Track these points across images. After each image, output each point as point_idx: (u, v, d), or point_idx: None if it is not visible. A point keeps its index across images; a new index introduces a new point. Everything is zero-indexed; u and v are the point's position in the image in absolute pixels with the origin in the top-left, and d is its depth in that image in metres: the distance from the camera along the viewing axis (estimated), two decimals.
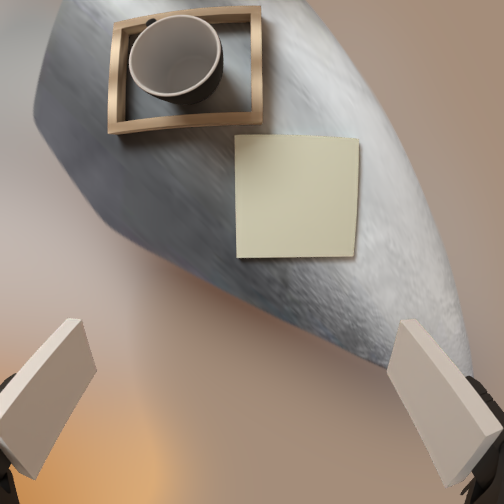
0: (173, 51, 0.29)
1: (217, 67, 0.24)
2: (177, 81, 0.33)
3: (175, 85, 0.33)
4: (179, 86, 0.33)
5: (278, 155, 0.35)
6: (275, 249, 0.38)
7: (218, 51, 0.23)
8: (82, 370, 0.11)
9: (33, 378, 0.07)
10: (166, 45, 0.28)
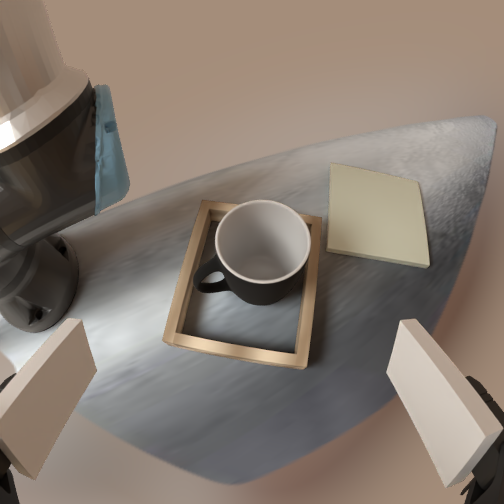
0: None
1: None
2: None
3: None
4: None
5: (347, 217, 0.40)
6: (420, 234, 0.39)
7: (272, 202, 0.30)
8: (82, 370, 0.11)
9: (33, 378, 0.07)
10: None
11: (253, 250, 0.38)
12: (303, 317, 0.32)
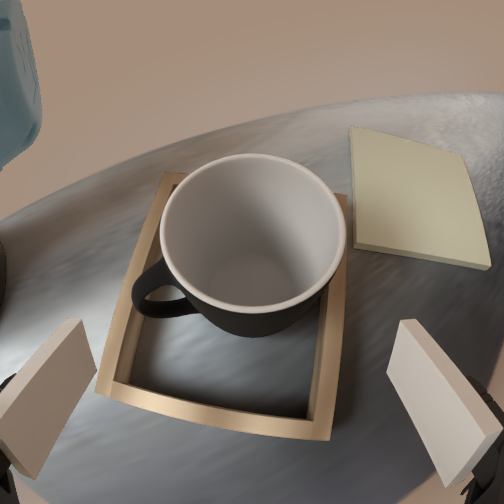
0: None
1: None
2: None
3: None
4: None
5: (380, 198, 0.26)
6: (475, 222, 0.25)
7: (270, 156, 0.16)
8: (82, 370, 0.11)
9: (33, 378, 0.07)
10: None
11: (241, 246, 0.24)
12: (324, 358, 0.18)
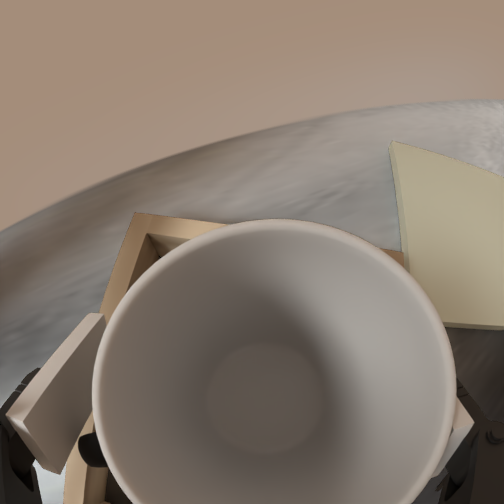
0: (192, 424, 0.12)
1: None
2: (266, 431, 0.14)
3: (276, 436, 0.14)
4: (281, 428, 0.14)
5: (438, 248, 0.18)
6: None
7: (315, 228, 0.08)
8: None
9: (60, 371, 0.08)
10: (178, 434, 0.10)
11: (248, 335, 0.15)
12: None
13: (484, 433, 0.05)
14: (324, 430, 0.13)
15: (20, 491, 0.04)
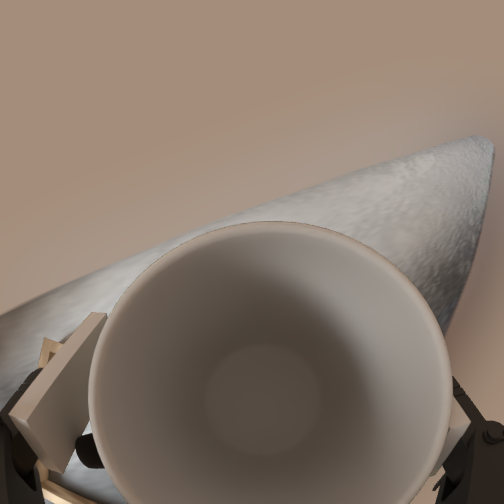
0: (189, 425, 0.12)
1: None
2: (264, 433, 0.14)
3: (274, 438, 0.14)
4: (278, 430, 0.14)
5: None
6: None
7: (311, 230, 0.08)
8: None
9: (63, 371, 0.08)
10: (176, 435, 0.10)
11: (246, 337, 0.15)
12: None
13: (481, 433, 0.05)
14: (321, 431, 0.13)
15: (23, 491, 0.04)
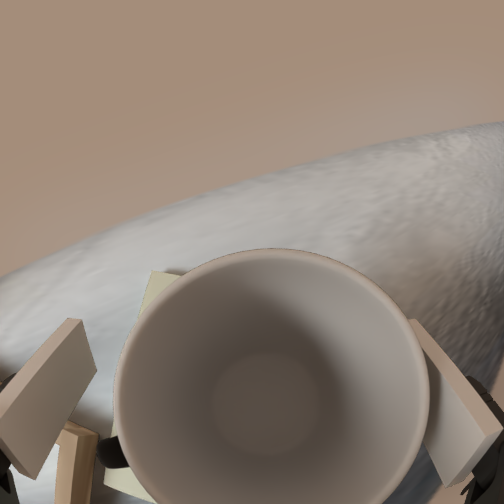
0: (198, 428, 0.13)
1: None
2: (267, 434, 0.15)
3: (276, 439, 0.15)
4: (281, 431, 0.15)
5: None
6: None
7: (301, 255, 0.09)
8: (82, 370, 0.11)
9: (33, 378, 0.07)
10: (186, 438, 0.11)
11: (248, 346, 0.16)
12: None
13: None
14: (320, 432, 0.14)
15: None
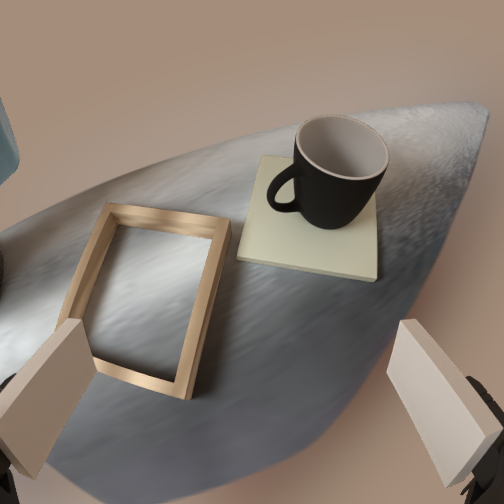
0: None
1: None
2: None
3: None
4: None
5: (268, 218, 0.34)
6: (368, 238, 0.33)
7: (344, 117, 0.28)
8: (82, 370, 0.11)
9: (33, 378, 0.07)
10: None
11: None
12: (186, 340, 0.26)
13: None
14: None
15: None
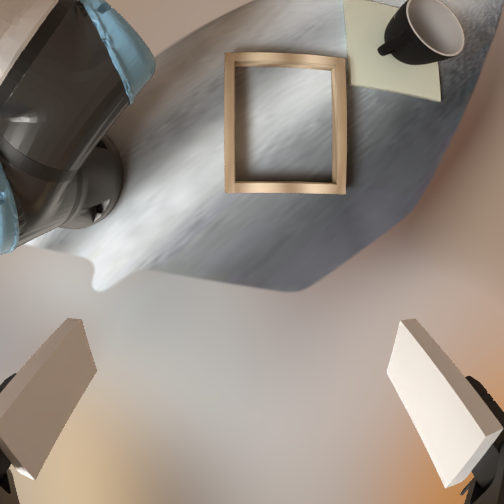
0: None
1: (440, 3, 0.23)
2: None
3: None
4: None
5: (366, 53, 0.34)
6: (433, 71, 0.34)
7: None
8: (82, 370, 0.11)
9: (33, 378, 0.07)
10: None
11: None
12: (339, 153, 0.37)
13: None
14: None
15: None
